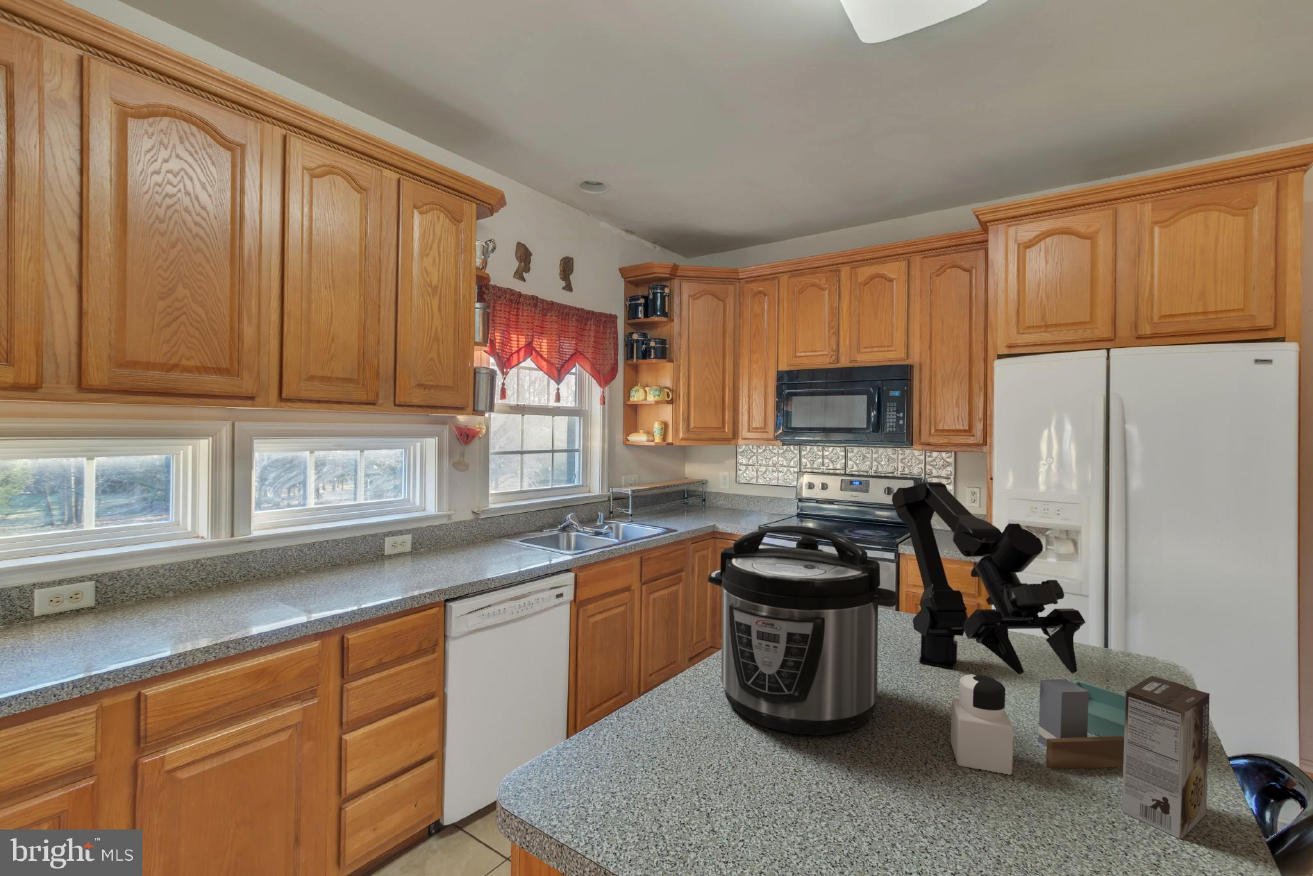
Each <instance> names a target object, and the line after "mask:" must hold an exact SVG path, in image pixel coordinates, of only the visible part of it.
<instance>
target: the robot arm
mask: <svg viewBox="0 0 1313 876" xmlns="http://www.w3.org/2000/svg"><path fill="white" fill-rule="evenodd" d="M891 503H892V506H893V507H894V510H895V513H896V515H897V517H898V519H899V520H901V522H902V523H903V524H905V525H906V527H907V528H908V531H909V535H910V539H911V543H912V547H913V551H914V556H915V559H916V562H917V566H918V570H919V573H920V578H921V581H922V587H923V592H922V595H921V597H920V600H919V607H920V609H919V611H918V612H917V614H916V615H914V617H913V618H912V624H913V625H912V626H913V629H914V631H916V632H918V633H919V634H920V656H919V660H918V662H919V663H921V664H926V665H929V666H930V665H931V666H935V667H940V668H945V669H950V670H953V669H954V668H955V667H954V666H955V665H956V664H957V661H958V645H959V644H958V640H955V637H956V636H961V637H963V636H964V633H965V636H966V638H967V639H968V640H975V642H976V644H981V645H983V646H984V647H985V648H987V649H988V650H989V651H991V652H992V653H993V654H995V655H996V656H997V657H998V658H999V659H1000V660H1002V662H1004V663H1005V664H1006V665H1007V666H1008V667H1009V668H1011V670H1013V671H1014V672H1015V673H1017V675H1022V674H1024V673H1025V671H1024V668H1023V665H1022V662H1021V660H1020V658H1019V656H1018V654H1017V652H1016V650H1015V649H1014V646H1013V644H1012V642H1011V640H1010V637H1009V630H1020V629H1021V630H1022V629H1023V630H1025V629H1027V630H1030V629H1031V630H1033V629H1035V630H1037V629H1039V630H1041V631H1042V633H1043V634H1044V635H1045V636H1047V638H1046V639H1045V641H1046V642H1047V643H1048V645H1049V647H1050V648H1051V649H1052V650H1053V651H1054V653H1055V655H1056V656H1057V658H1059V660H1060V661H1061V663H1062V664H1063V665H1064V666H1065V668H1066V669H1067V670H1068V671H1069V672H1070V674H1075V673H1077V672H1078V666H1077V660H1076V653H1075V647H1074V644H1075V643H1074V636H1075V633H1077V632H1078V631H1079V630H1080V629H1081V627H1082V626H1083V625H1085V624H1086V620H1085V619H1084V617H1083V616H1082V615H1083V614H1082V613H1081V612H1080V611H1079V610H1077V609H1075V608H1054V609H1052V610H1051V611H1050V612H1049V613H1048V614H1047V615H1046V616H1039V613H1043V612H1044V611H1045V610H1046V607H1045V606H1048V605H1057V604H1059V600H1063V599H1064V597H1065V593H1064V589H1063V587H1062V585H1061V584H1060V582H1059V581H1058V580H1057V579H1047V580H1043V581H1041V583H1026V582H1023V583H1022V582H1021V580H1020V577H1019V576H1018V575H1017V573H1022V572H1023V571H1025V570H1026V568H1028V567H1029V566H1030V565H1031V564H1032V563H1033V562H1034V560H1035V559H1036V558H1037V557H1038V556H1039V555H1040V554H1042V552H1043V550H1044V546H1043V545H1044V544H1043V542H1042V540H1041V539H1040V537H1037V536H1036V535H1035V534H1034V533H1033V532H1032V531H1029V530H1028V529H1026V528H1025V529H1024V528H1023V527H1022V526H1021V524H1020V523H1008V524H1006V526H1005V527H1004V530H1002V531H1001V530H1000V528H998V527H997V526H995V525H994V524H992V523H991V522H989V521H987V520H985V519H982V518H979V517H977V516H975V515H973V514H972V513H971V512H970V511H969V509H967V508H966V507H965V506H964V505H963V504H962V502H961V501H959V500H958V499H957V497H955V496H954V495H953V494H952V493H951V492H950V491H949V490H948V488H947V485H946V484H945V483H943V482H941V481H934V482H933V481H932V482H931V481H929V482H928V481H923V482H921V483H918V484H916V485H912V486H907V487H898V488H897V489H896V491H895V492H893V493H892V496H891ZM934 514H936V515H937V516H938V517H939V518H940V519H941V520H942V521H943V522H944V523H945V525H946V526H947V527H948V528H949V529H950V530H951V532H952V533H953V534H952V541H953V543H954V545H955V546H956V548H957V549H958V551H959V553H961V554H962V555H963V557H966V558H976V557H977V558H980V557H981V558H980V559H979V561H978V562H974V563H973V567H972V569H971V571H970V577H972V578H980V580H981V582H982V584H983V586H984V588H985V590H986V593H987V595H988V597H987V598H986V599H985V601H986V603H987V605H988V606H994V609H993V608H989V609H988V608H986V609H985V608H984V609H983V608H982V609H981V608H980V609H979V608H978V609H975V610H974V611H973V612H972V614H970V615H968V612H967V610H968V608H967V606H966V604H965V602H964V597H963V593H962V592H961V590H958V589H955V590H954V589H953V588H952V587H951V585H950V584H949V582H948V578H947V575H946V570H945V568H944V564H943V560H942V555H941V553H940V550H939V546H938V543H937V539H936V535H935V531H934V528H933V524H932V519H933V516H934ZM968 616H969V617H968Z"/></svg>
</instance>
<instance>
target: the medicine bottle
mask: <svg viewBox="0 0 1313 876" xmlns="http://www.w3.org/2000/svg"><path fill="white" fill-rule="evenodd" d="M958 687H959V688H958V694H959V695H958V698H952V699H951V718H950V720H951V724H950V743H951V747H952V750H953V751H952V752H953V753H954V754H953V755H954V757H955V761H956V764H957V766H959V767H965V768H969V767H970V768H969V769H975V770H979V769H981V771H985V770H987V771H986V772H990V771H991V773H996V772H997V774H1001V773H1003V774H1002V775H1006V774H1008V775H1009V776H1011V775H1012V774H1013V756H1014V755H1013V753H1014V752H1013V751H1014V727H1013V724H1012V722H1011V720H1010V719H1009V717H1008V714H1007V713H1006V711H1005V709H1006V687H1005V686H1004V684H1003V683H1001V682H1000V681H999V680H997V679H995V678H993V677H990V676H988V675H983V674H977V673H976V674H975V673H974V674H972V673H971V674H966V675H963V676H961V677H960V679H959V686H958ZM1008 775H1007V776H1008Z"/></svg>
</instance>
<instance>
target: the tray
mask: <svg viewBox="0 0 1313 876" xmlns="http://www.w3.org/2000/svg"><path fill="white" fill-rule="evenodd" d="M1070 682H1072V683H1074V684H1076V685H1078V686H1080V687H1081V688H1083V689H1085V690H1087V691H1089V700H1088V731H1087V733H1090V734H1093V735H1095V736H1097V737H1113V736H1122V737H1124V736H1125V706H1126V694H1123V693H1120V692H1118V691H1114V690H1110V689H1107V688H1104V687H1101V686H1098V685H1094V684H1092V683H1089V682H1088V683H1087V682H1085V681H1082V680H1078V679H1074V680H1072V681H1071V680H1070Z"/></svg>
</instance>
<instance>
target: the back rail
mask: <svg viewBox="0 0 1313 876" xmlns="http://www.w3.org/2000/svg"><path fill="white" fill-rule="evenodd" d="M1045 759H1046V760H1045V763H1046V764H1045V766H1046V765H1047V766H1046V767H1047V768H1049V767H1050V768H1051V769H1050V768H1049V769H1050V770H1062V769H1061V768H1072V769H1093V768H1095V769H1096V768H1097V769H1098V768H1099V769H1100V768H1118V767H1119V768H1123V764H1124V737H1122V736H1113V737H1101V736H1087V737H1082V738H1051V739H1047V748H1046V757H1045Z"/></svg>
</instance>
